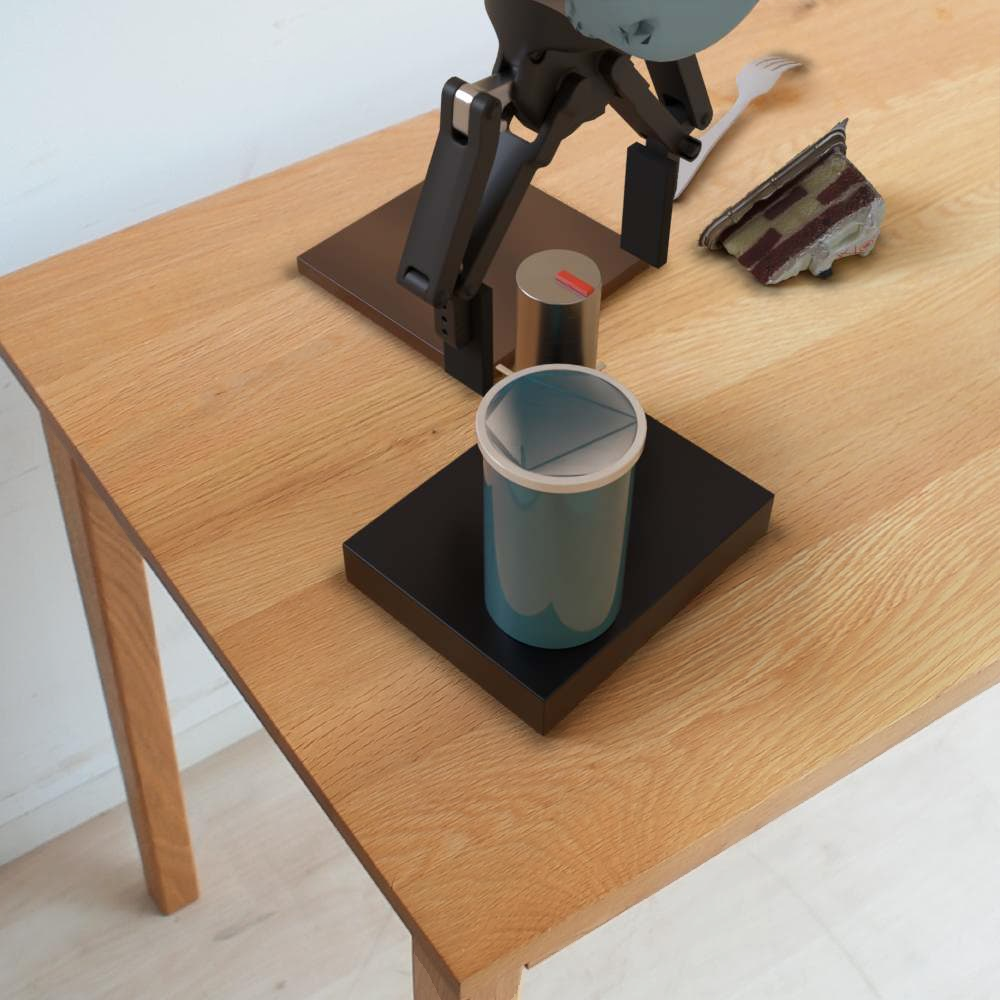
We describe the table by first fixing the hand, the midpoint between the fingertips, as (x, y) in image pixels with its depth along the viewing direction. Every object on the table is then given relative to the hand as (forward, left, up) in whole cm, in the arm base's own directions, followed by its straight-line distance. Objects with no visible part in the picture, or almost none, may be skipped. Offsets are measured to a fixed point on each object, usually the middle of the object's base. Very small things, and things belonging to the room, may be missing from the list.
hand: (559, 316), depth 76 cm
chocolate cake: (+24, 0, -10) cm, 26 cm away
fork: (+32, +12, -10) cm, 35 cm away
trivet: (+8, +14, -9) cm, 19 cm away
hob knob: (0, 0, -6) cm, 6 cm away
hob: (-6, -4, -9) cm, 12 cm away
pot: (-10, -9, -6) cm, 15 cm away
